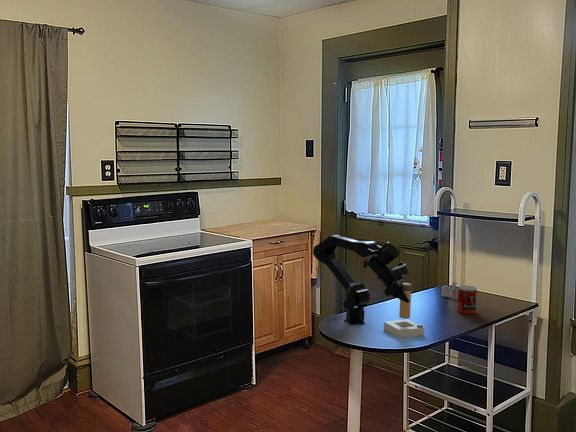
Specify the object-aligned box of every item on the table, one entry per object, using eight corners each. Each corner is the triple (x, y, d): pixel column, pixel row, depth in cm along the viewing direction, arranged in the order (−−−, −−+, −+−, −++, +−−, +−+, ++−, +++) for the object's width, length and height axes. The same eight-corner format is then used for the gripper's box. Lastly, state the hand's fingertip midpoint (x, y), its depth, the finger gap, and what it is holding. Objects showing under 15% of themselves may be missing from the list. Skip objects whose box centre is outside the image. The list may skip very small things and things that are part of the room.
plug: (403, 319, 218) (405, 285, 216) (397, 316, 222) (398, 283, 220) (412, 318, 220) (414, 284, 218) (405, 315, 223) (407, 282, 222)
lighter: (440, 296, 276) (441, 279, 276) (442, 295, 278) (443, 279, 277) (454, 298, 272) (456, 282, 271) (456, 298, 273) (457, 281, 272)
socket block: (399, 338, 214) (400, 328, 214) (383, 329, 224) (384, 320, 224) (424, 335, 218) (424, 325, 218) (407, 326, 228) (407, 317, 228)
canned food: (462, 315, 246) (464, 290, 244) (453, 309, 254) (455, 285, 252) (478, 314, 247) (480, 289, 246) (469, 309, 255) (471, 285, 254)
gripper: (394, 261, 210) (423, 293, 208) (399, 252, 228) (426, 282, 226) (372, 280, 213) (400, 312, 211) (378, 270, 231) (405, 299, 229)
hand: (409, 300), depth 219 cm, fingers closed on plug, 4 cm apart
